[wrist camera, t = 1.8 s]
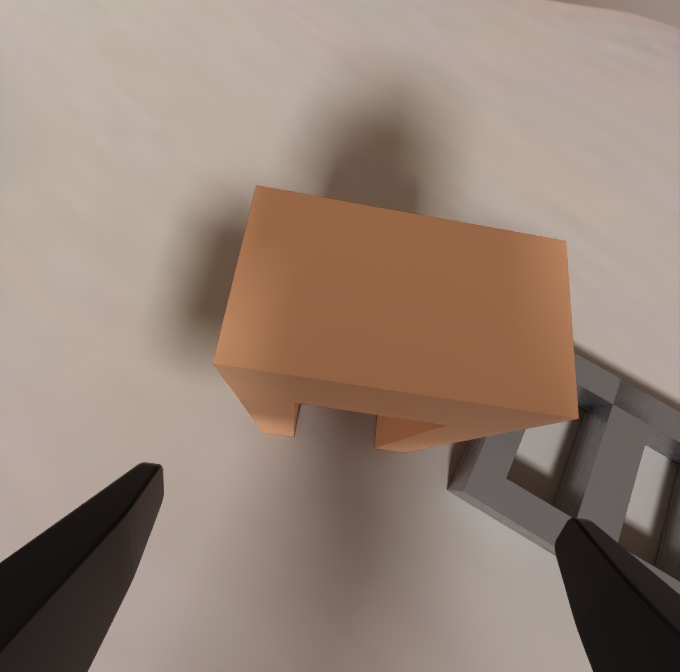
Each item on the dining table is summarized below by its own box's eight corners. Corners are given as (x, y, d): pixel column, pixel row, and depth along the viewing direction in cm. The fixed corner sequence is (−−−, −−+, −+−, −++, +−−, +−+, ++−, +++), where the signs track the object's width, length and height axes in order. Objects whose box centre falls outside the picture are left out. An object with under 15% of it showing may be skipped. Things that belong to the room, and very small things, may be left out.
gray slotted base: (852, 533, 21) (906, 539, 19) (837, 725, 18) (900, 755, 16) (512, 341, 23) (532, 329, 21) (447, 489, 20) (463, 491, 18)
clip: (409, 374, 21) (566, 240, 9) (403, 452, 20) (578, 418, 8) (278, 354, 21) (256, 185, 9) (263, 432, 20) (212, 363, 7)
